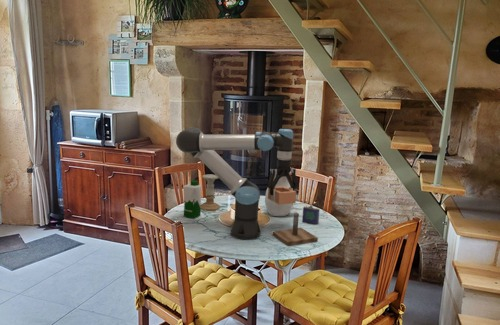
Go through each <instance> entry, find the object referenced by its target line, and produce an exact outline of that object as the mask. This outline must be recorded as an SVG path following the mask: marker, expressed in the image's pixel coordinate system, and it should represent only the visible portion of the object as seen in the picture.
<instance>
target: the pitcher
mask: <svg viewBox="0 0 500 325" xmlns="http://www.w3.org/2000/svg"><path fill="white" fill-rule="evenodd" d="M271 169H272V168H270V170H269V171H270V172H271ZM276 174H277V172H276V173H275V177H276ZM289 174H290V175H291V172H290V173H289ZM275 177H274V179H275ZM273 181H274V180H273ZM275 187H287V188H289V187H290V184H289V182H288V180H287V178H286V177H285V176H284V177H281V178H280V179H279V181H278V183H277V184H276V186H275ZM266 188H267V189H266V191H265V194H264V196H265V197H264V203H265V207H266V208H265V209H266V211H267V212H268V213H269V215H271V216H273V217H274V216H275V217H286V216H288V214H289V213H290V211H291V209H292V207H293V205H294V203H291V204H280V205H279V204H277V203H275V202H273V201H271V200H270V199H268V187H266Z"/></svg>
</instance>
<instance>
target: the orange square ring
mask: <svg viewBox="0 0 500 325" xmlns="http://www.w3.org/2000/svg"><path fill="white" fill-rule="evenodd" d="M267 188H268V187H267ZM274 189H275V203H277V204H279V205H280V204H291V203H293V204H296V202H297V200H296V198H297V191H296V190H294V191H293V190H291V189H289V188H287V187H275V188H274ZM268 199H270V200H271V195H270V188H268Z"/></svg>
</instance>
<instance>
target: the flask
mask: <svg viewBox="0 0 500 325" xmlns="http://www.w3.org/2000/svg"><path fill="white" fill-rule="evenodd" d="M313 206H314V205H313V204H310V206H308V205H305V206H303V207H302V219H301V220H302V223H304V224H308V225H309V224H310V225H316V226H317V225H319V224H320V223H319V222H320V208H318V207H317V208H316V207H313Z"/></svg>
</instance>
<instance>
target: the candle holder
mask: <svg viewBox="0 0 500 325" xmlns="http://www.w3.org/2000/svg"><path fill="white" fill-rule="evenodd" d="M201 178H202V179H204V180H206V182H207V184H206V185H205V186H206V190H205V196H204V197H205V200H206V201H205V202H202V203H201V211H208V212H212V211H218V210H219V209H220V208H221V207H220V206H221V205H220V204H218V203H217V202H215V199H216V197H215V189H214V187H215V184H214V182H215V180H217V179H220V178H219V177H218V176H217V175H216V174H212V173H211V174H203V175H202V176H201Z"/></svg>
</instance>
